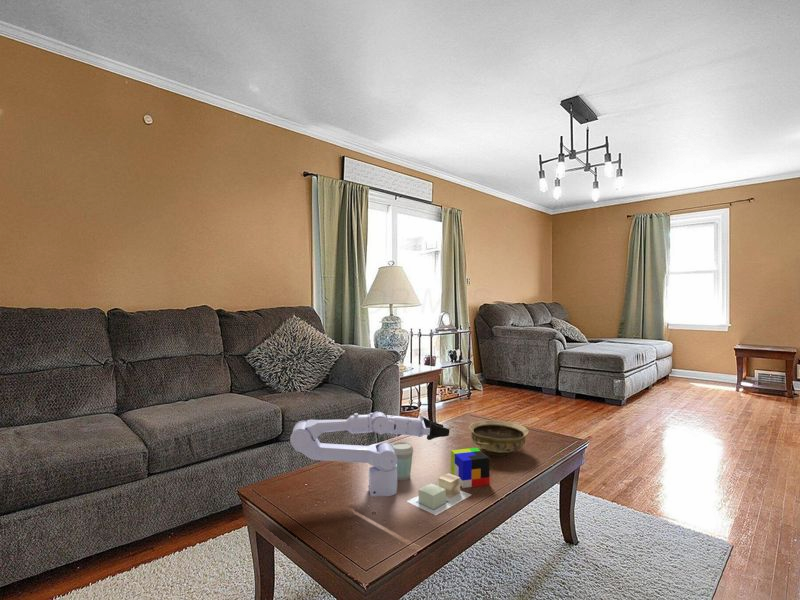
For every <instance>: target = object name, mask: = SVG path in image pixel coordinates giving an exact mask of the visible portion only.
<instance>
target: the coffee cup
mask: <svg viewBox="0 0 800 600" xmlns="http://www.w3.org/2000/svg"><path fill="white" fill-rule="evenodd" d="M391 444H392V446H393V447H394V452H395V454H396V456H397V481H407V480H409V479H410V478H411V471H412V463H413V454H414V451H415V450H414V447H413V445H412V444H411V443H410V442H408V441H407V442H406V441H395V442H393V443H391Z"/></svg>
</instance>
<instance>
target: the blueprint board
mask: <svg viewBox="0 0 800 600" xmlns="http://www.w3.org/2000/svg"><path fill="white" fill-rule="evenodd" d="M437 486H439V484H437ZM471 496H472V494H471V493H468V492H465V491H464V490H461V489H460V493H459V494H457V495H455V496H453V497H452V498H450V497H447V496H446V502H445V503H443V504H441V505H439V506H438V507H436V508H434V509H432V508H430V507H428V506H426V505H424V504H422V503H419V494H418V495H417V496H415V497H413V498H410V499H408V500H406V503H408V504H411V505H413V506H414V507H417V508H419V509H422V510H424V511H426V512H428V513H430V514H432V515H433V516H437V515H440V514H441V513H442V512H445V511H447V510H448V509H449V508H452V507H454V506H455V505H457V504H459V503H461V502H462V501H464V500H466V499H467V498H469V497H471Z"/></svg>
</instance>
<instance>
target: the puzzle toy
mask: <svg viewBox="0 0 800 600" xmlns="http://www.w3.org/2000/svg"><path fill="white" fill-rule="evenodd" d="M490 460H491V459H490V456H488V455H487V454H486V453H484V452H483V451H481V450H480V448H478V447H470V448H469V447H468V448H461V449H452V450H450V474H452V475H455V476H457V477H460V488H462V489H465V488H472V487H473V488H474V487H480V486H487V485H490V481H491V480H490V478H491V477H490V471H491V470H490V465H491V463H490Z"/></svg>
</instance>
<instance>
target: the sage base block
mask: <svg viewBox="0 0 800 600" xmlns="http://www.w3.org/2000/svg"><path fill="white" fill-rule="evenodd" d="M418 495H419V503H422V504H424V505H426V506H428V507H430V508H432V509H434V508H436V507H438V506H439V505H441V504H443V503H445V502H446V489H444V488H441V487H439V486H438V485H436V484H434V483H428V484H427V485H424V486H423V487H421V488H418Z"/></svg>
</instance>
